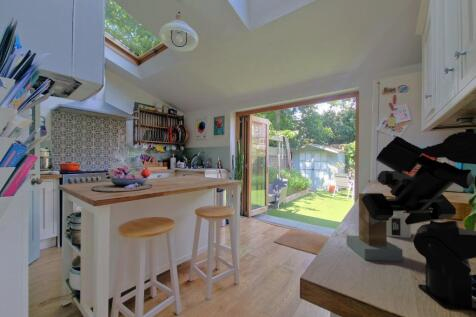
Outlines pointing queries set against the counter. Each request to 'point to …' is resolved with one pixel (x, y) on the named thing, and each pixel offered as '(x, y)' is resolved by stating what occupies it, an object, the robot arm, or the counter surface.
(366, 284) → the counter surface
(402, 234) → the container
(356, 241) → the plinth
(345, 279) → the counter surface
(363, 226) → the post
